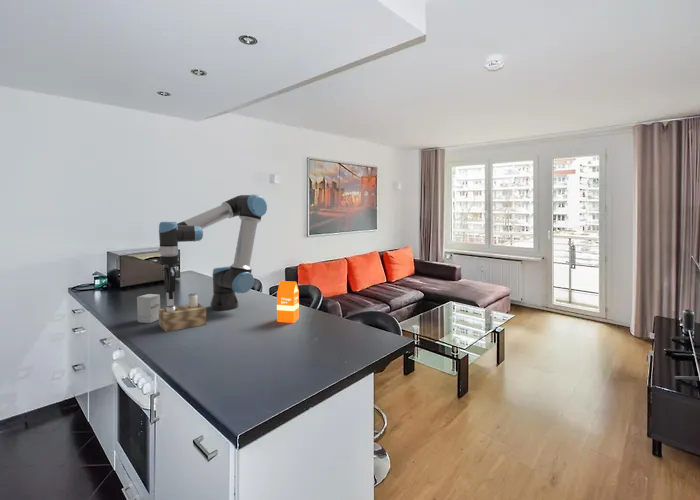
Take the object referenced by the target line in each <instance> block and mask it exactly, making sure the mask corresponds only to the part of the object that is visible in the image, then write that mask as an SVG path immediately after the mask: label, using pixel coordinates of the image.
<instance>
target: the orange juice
mask: <svg viewBox="0 0 700 500" xmlns="http://www.w3.org/2000/svg"><path fill="white" fill-rule="evenodd" d="M299 294H300V291H299V286H298V283H297V281H289V280H288V281H287V280H280V281H279V284H278V289H277V293H276V322H279V323H287V324H289V323H292V324H294V323H296V321H298V320H299V317H300V316H299V315H300V313H299V312H300V311H299V310H300V307H299V306H300V298H299V297H300V295H299Z"/></svg>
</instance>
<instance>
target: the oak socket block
mask: <svg viewBox="0 0 700 500" xmlns="http://www.w3.org/2000/svg"><path fill="white" fill-rule="evenodd" d="M175 306H176V311H171V312H166V307H163V308H161V307H160V309H159V320H158V325H160V326H161V327H162V328H161V327H160V326H159V327H160V328H161V329H162V330H163V331H164V332H165V333H166V332H167V333H168V332H172V331H179V330H183V329H188V328H194V327H200V326H205V325H207V308H206V307H205V306H203V305H202V304H200V303H198V308H192V309H189V304H185V305H184V304H183V305H175Z"/></svg>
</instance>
